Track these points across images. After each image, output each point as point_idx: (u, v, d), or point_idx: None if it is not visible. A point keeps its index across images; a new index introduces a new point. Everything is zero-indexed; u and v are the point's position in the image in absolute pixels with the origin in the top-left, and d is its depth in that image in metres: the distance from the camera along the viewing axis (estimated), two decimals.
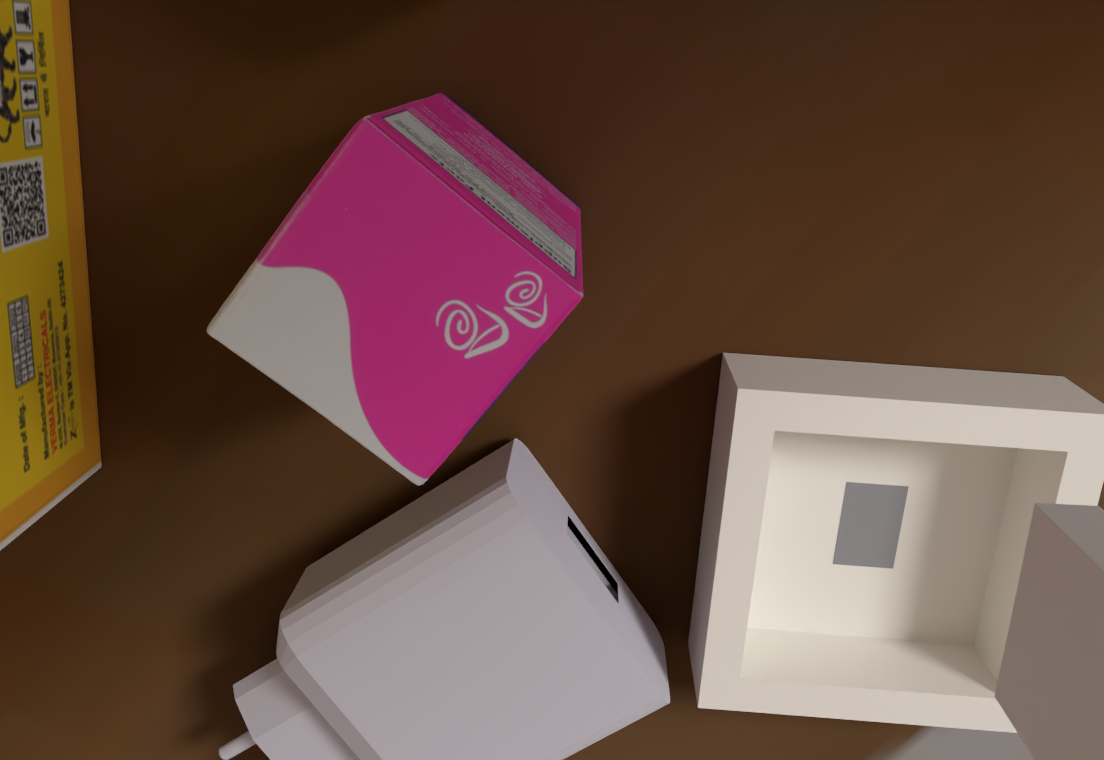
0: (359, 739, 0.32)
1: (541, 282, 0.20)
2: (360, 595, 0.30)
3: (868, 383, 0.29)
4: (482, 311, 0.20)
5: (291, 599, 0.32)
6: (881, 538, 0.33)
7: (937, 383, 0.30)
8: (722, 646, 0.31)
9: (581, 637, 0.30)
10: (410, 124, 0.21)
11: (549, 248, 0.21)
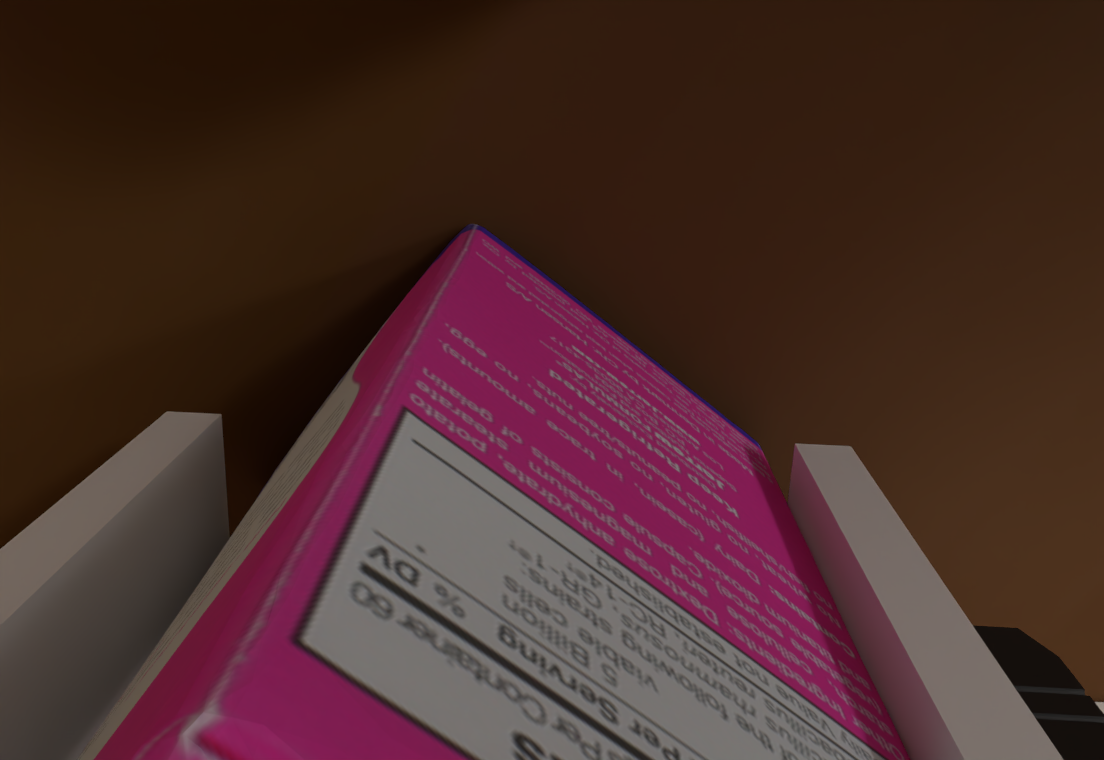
0: None
1: None
2: None
3: None
4: None
5: None
6: None
7: None
8: None
9: None
10: (421, 516, 0.06)
11: None
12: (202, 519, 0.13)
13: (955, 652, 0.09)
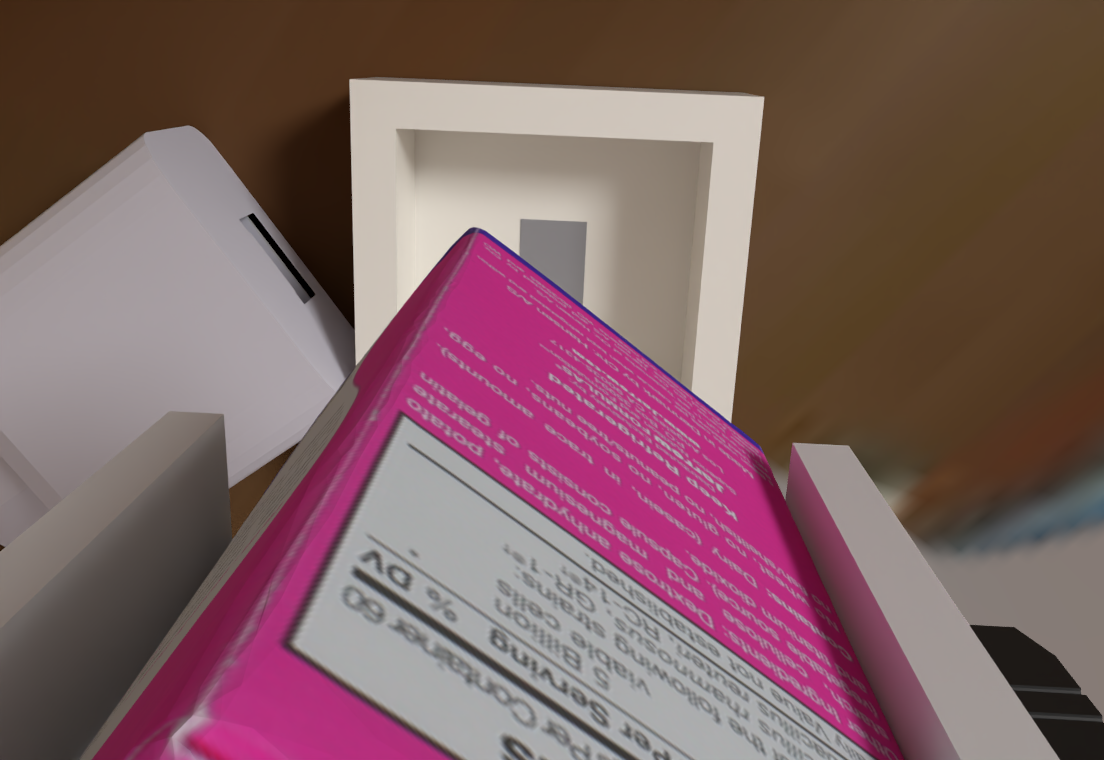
0: (14, 452, 0.29)
1: None
2: None
3: (508, 84, 0.27)
4: None
5: None
6: (566, 284, 0.30)
7: (589, 87, 0.27)
8: None
9: (238, 317, 0.27)
10: (414, 520, 0.06)
11: None
12: (204, 519, 0.13)
13: (952, 652, 0.09)
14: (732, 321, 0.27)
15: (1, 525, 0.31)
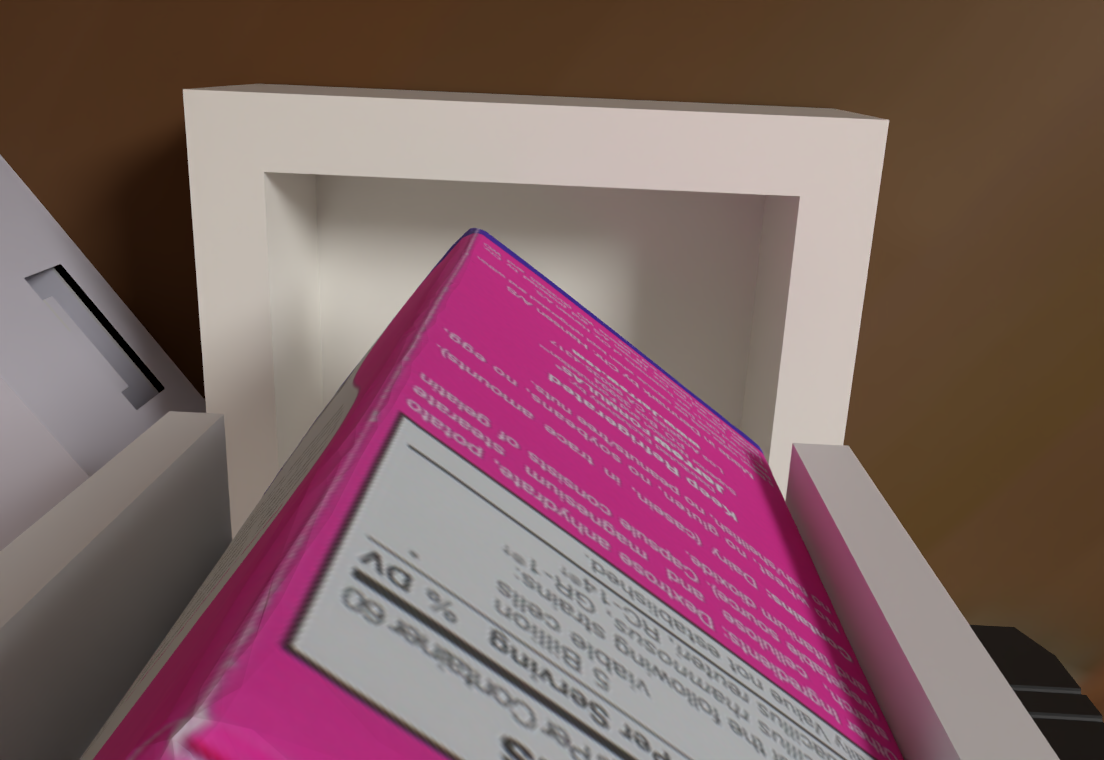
0: None
1: None
2: None
3: (457, 97, 0.16)
4: None
5: None
6: None
7: (589, 101, 0.17)
8: None
9: (4, 447, 0.16)
10: (414, 521, 0.06)
11: None
12: (204, 519, 0.13)
13: (952, 651, 0.09)
14: None
15: None
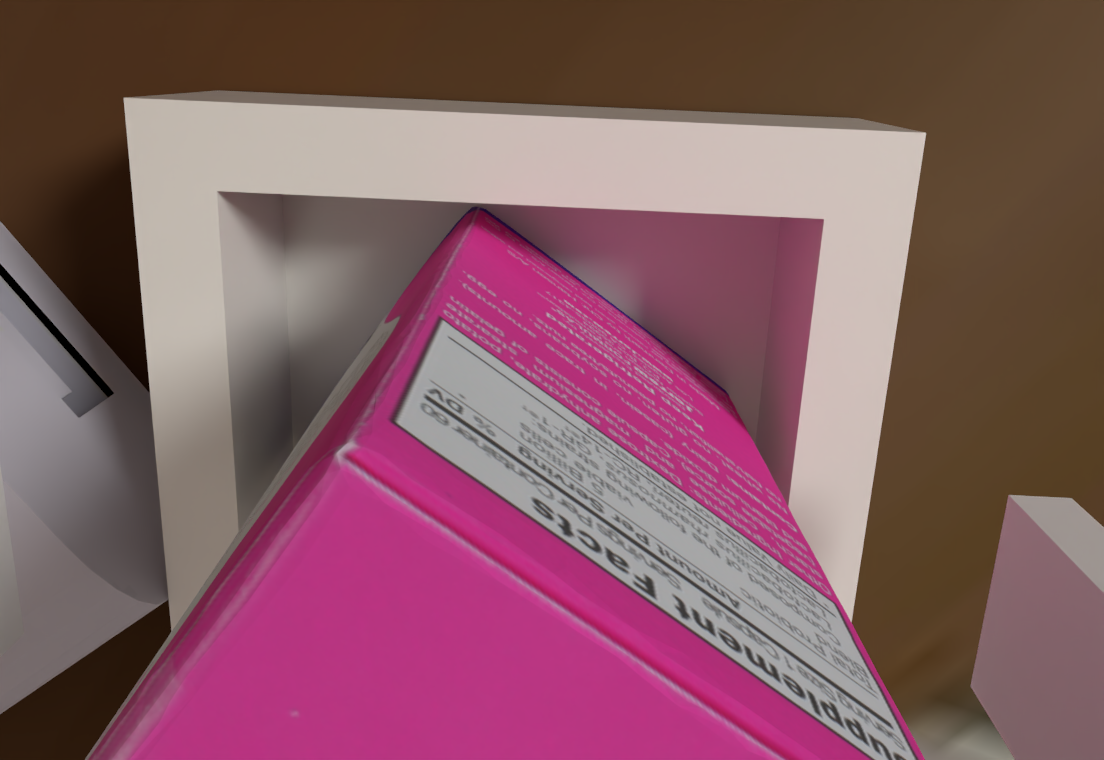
0: None
1: None
2: None
3: (436, 106, 0.15)
4: None
5: None
6: None
7: (585, 111, 0.15)
8: None
9: None
10: (459, 379, 0.08)
11: (842, 695, 0.08)
12: None
13: None
14: (848, 539, 0.15)
15: None
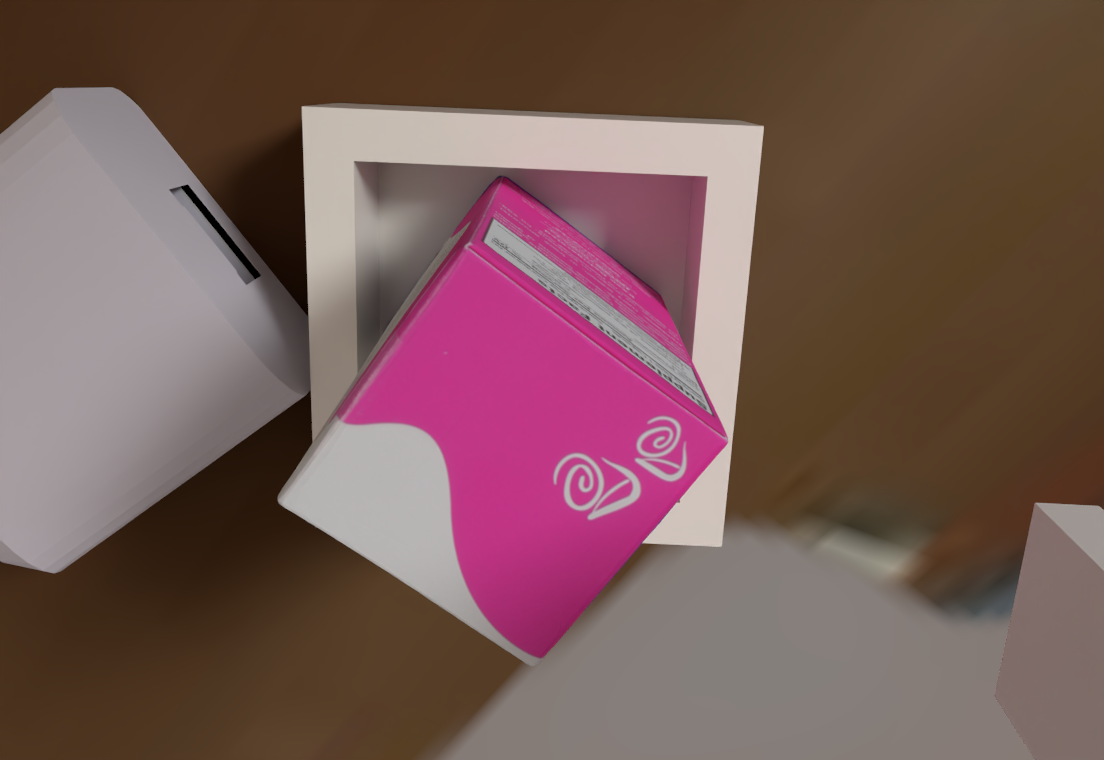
0: None
1: (680, 428, 0.16)
2: None
3: (480, 111, 0.24)
4: (609, 465, 0.17)
5: None
6: None
7: (569, 114, 0.25)
8: None
9: (166, 298, 0.24)
10: (504, 239, 0.18)
11: (676, 379, 0.18)
12: None
13: None
14: (729, 373, 0.25)
15: None
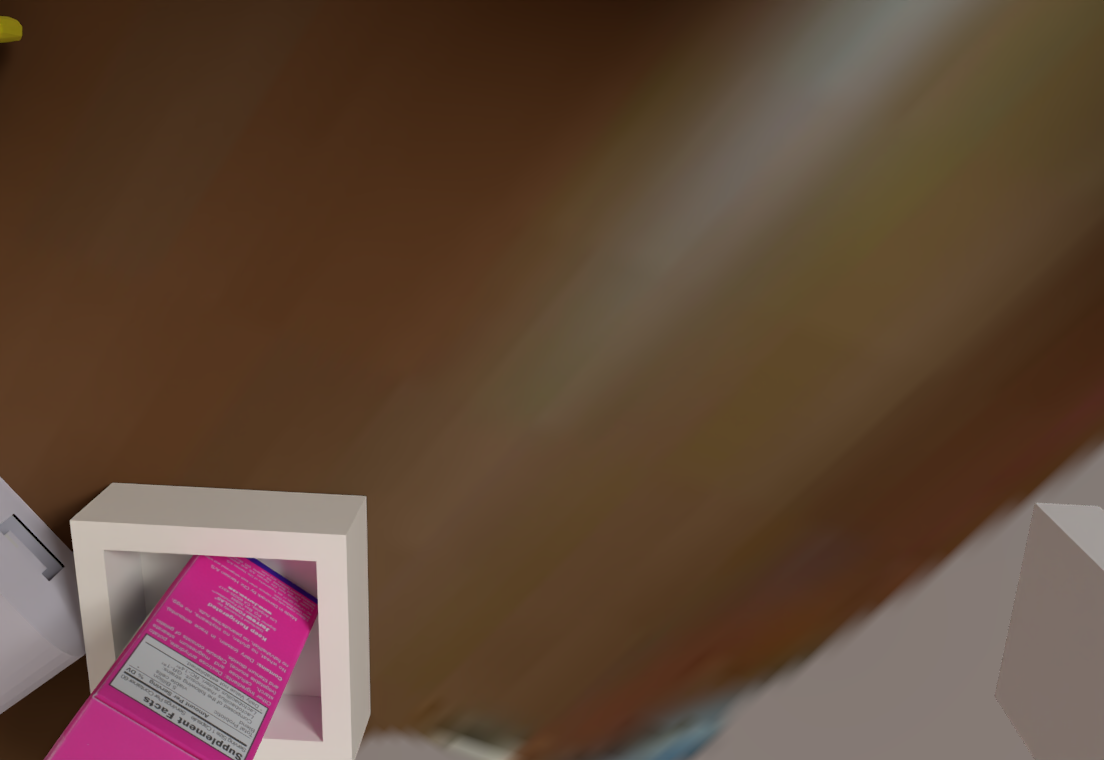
0: None
1: None
2: None
3: (186, 510, 0.40)
4: None
5: None
6: None
7: (245, 507, 0.40)
8: None
9: None
10: (140, 660, 0.33)
11: (230, 738, 0.33)
12: None
13: None
14: (343, 669, 0.40)
15: None
